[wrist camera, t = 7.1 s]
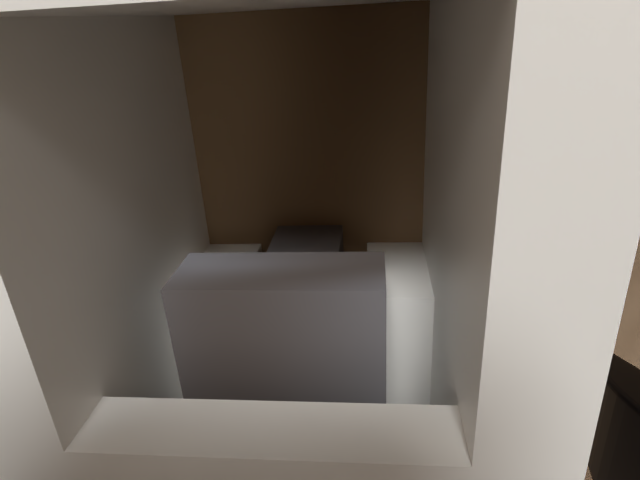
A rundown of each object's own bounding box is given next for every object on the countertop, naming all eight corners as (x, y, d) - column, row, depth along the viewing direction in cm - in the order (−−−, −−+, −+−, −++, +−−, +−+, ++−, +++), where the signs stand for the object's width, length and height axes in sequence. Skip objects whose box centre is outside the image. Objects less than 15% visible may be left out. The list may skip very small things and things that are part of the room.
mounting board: (628, -216, 7) (1057, -598, 3) (500, 607, 16) (555, 857, 11) (5, -153, 8) (-433, -352, 4) (191, 586, 17) (121, 806, 12)
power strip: (74, -176, 7) (-469, -520, 2) (516, -222, 6) (875, -809, 2) (233, 607, 14) (169, 881, 10) (446, 622, 14) (483, 923, 9)
